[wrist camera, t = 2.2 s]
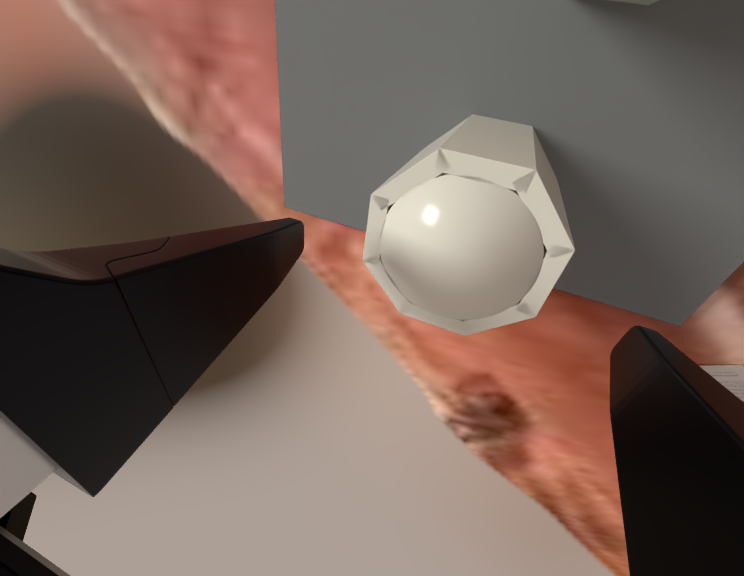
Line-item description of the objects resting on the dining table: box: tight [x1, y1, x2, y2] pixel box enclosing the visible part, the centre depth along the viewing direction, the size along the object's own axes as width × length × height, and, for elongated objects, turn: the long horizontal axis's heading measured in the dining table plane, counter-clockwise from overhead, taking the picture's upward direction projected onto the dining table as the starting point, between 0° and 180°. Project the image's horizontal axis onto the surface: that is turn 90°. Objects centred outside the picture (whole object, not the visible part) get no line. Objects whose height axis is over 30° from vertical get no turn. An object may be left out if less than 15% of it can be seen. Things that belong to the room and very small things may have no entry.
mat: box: [275, 0, 744, 326], centre depth 13 cm, size 22×18×1 cm
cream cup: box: [363, 114, 575, 336], centre depth 13 cm, size 6×6×7 cm
